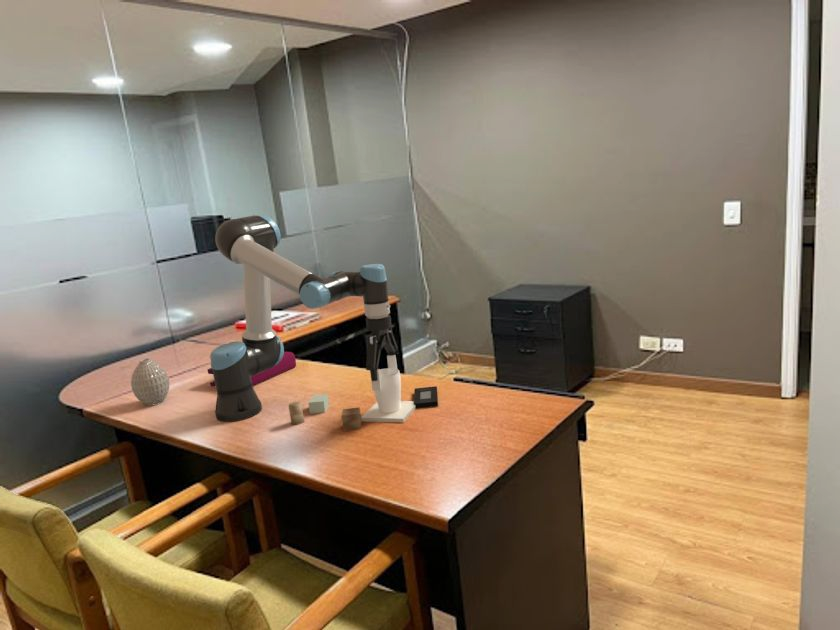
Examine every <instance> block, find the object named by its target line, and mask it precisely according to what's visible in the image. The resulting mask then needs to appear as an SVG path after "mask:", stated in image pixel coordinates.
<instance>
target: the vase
mask: <svg viewBox="0 0 840 630" xmlns="http://www.w3.org/2000/svg"><path fill="white" fill-rule="evenodd" d="M169 379H170V378H169V375H168V373H167V372H166V369H164V367H162V366H161V364H159V363H157V362H156V361H154V360H152V358H149V357H148V358H143V359H141V360H139V363H138V364H137V366H136V367H135V368H134V369H133V372H132V375H131V379H130V380H131V381H130V385H131V391H132V393H133V395H134V396H135V398H136V399H137V400H138V401H139V402H140V403H142V404H144V405H145V406H149V405H150V406H154V405H153V404H156V405H159V404H161V403H163V402H164V401H165V399H166V398H167V396H168V393H169V390H170V380H169ZM158 403H159V404H158Z"/></svg>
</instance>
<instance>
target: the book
mask: <svg viewBox="0 0 840 630" xmlns="http://www.w3.org/2000/svg"><path fill="white" fill-rule="evenodd" d="M296 360H297V359H296V356H295V353H293V352H292V351H284V354H283V358H282V360H281V361H280V362H279V363H278V364H277V365H275V366H274V367H272V368H271V369H268V370H265V371H263V372H260V373H258V374H256V375H254V376H252V377H251V380H252V386H253V387H254V386H257V385H259V384H261V383H264V382H266V381H268V380H270V379H272V378H274V377H276V376H279V375H281V374H284V373H285V372H287V371H289V370H292V369H294V368H296V367H297V361H296ZM207 374H209V375H213V371H212V367H210V368H207ZM209 384H210V385H209V386H210V387H213V386H214V388H216V387H215V381H214V380H213V381H211V382H210V383H209Z"/></svg>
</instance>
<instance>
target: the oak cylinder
mask: <svg viewBox="0 0 840 630" xmlns="http://www.w3.org/2000/svg"><path fill="white" fill-rule="evenodd" d="M287 406H288V410H289V411H288V412H289V418H290V423H291V425H293V426H295V425H296V426H297V425H301V424H303V423H304V422H305V417H304V412H303V406H302V402H301V401H294V402H291V403H289V404H288V405H287Z"/></svg>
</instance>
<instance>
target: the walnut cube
mask: <svg viewBox="0 0 840 630" xmlns="http://www.w3.org/2000/svg"><path fill="white" fill-rule="evenodd" d="M361 417H362V415H361V409H360V407H351V408H343V409H342V412H341V421H342V429H343V432H346V431H348V432H349V431H355V430H361V429H362V428H361V427H362V422H363V421H361Z"/></svg>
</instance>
